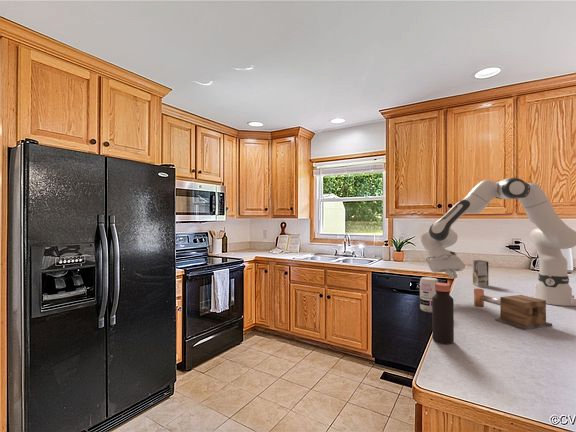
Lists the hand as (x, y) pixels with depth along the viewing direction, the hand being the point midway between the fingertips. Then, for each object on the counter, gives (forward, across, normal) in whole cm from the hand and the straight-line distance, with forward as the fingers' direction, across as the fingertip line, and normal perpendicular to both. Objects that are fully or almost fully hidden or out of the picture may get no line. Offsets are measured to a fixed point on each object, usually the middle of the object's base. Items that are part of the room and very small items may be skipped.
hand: (454, 277), depth 163 cm
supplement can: (+15, -24, +3) cm, 28 cm away
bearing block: (+34, 0, -16) cm, 37 cm away
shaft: (+23, 0, -8) cm, 25 cm away
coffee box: (-10, +48, +28) cm, 56 cm away
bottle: (+37, -46, -19) cm, 62 cm away
